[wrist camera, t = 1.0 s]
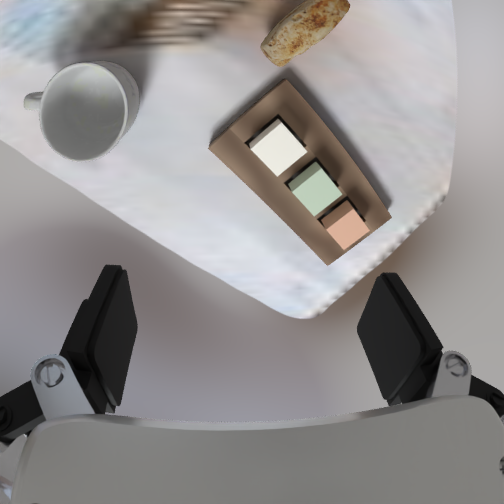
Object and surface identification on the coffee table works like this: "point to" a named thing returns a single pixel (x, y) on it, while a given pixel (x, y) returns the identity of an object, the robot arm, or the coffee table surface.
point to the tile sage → (314, 189)
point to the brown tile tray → (299, 168)
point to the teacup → (86, 109)
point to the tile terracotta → (345, 225)
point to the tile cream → (277, 147)
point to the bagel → (302, 29)
